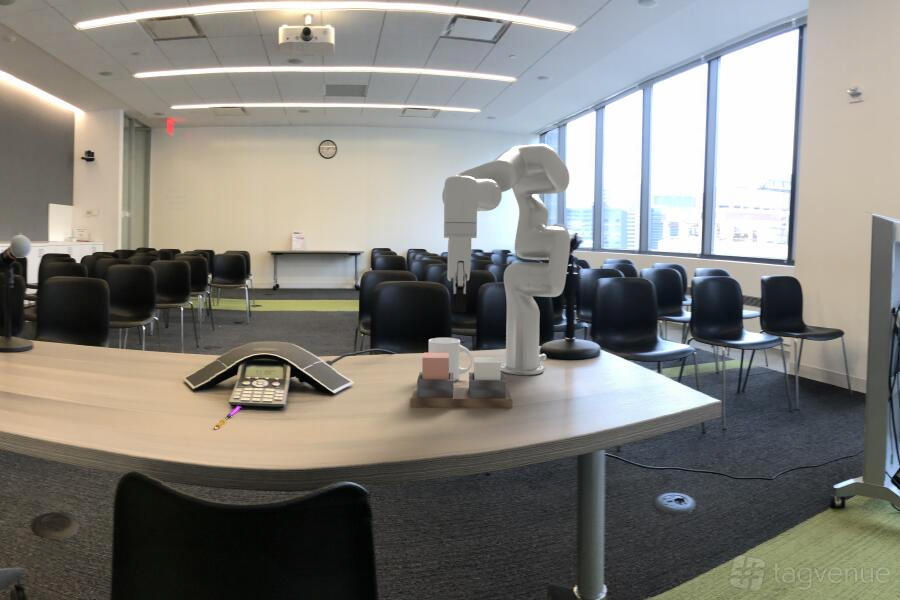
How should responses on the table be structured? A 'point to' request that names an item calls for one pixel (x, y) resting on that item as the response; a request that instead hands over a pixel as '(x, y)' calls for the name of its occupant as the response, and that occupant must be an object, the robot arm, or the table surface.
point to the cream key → (487, 368)
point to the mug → (451, 353)
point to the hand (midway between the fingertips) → (459, 310)
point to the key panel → (461, 393)
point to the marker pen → (228, 416)
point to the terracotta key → (435, 366)
